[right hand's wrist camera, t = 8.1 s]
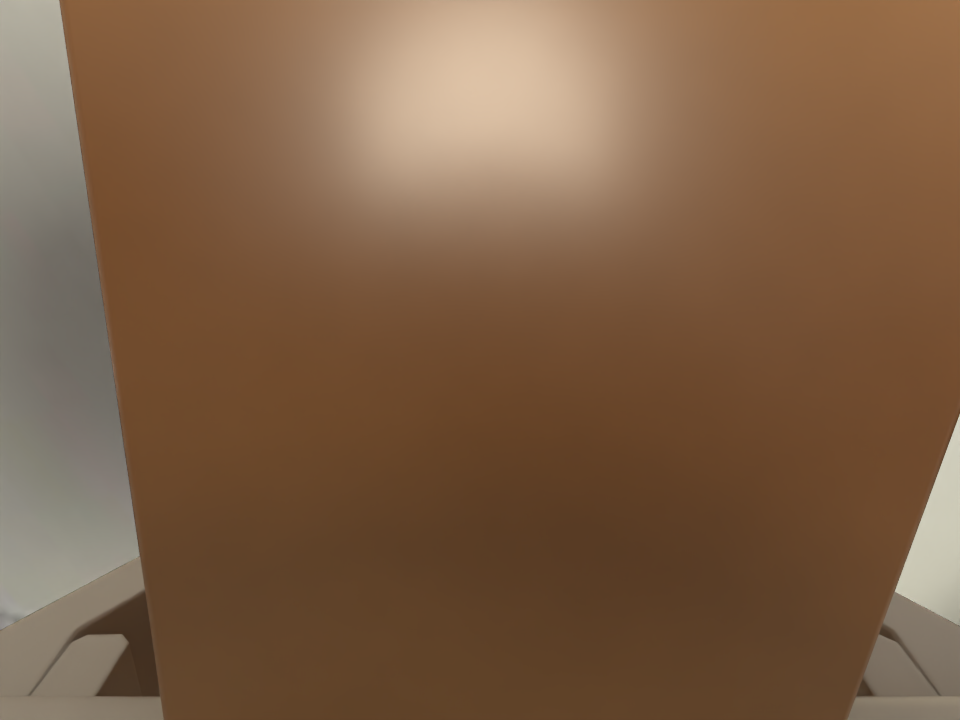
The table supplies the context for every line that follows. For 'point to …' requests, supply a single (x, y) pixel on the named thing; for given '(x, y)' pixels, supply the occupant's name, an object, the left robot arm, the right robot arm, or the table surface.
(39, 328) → the table surface
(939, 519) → the table surface
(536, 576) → the bar
